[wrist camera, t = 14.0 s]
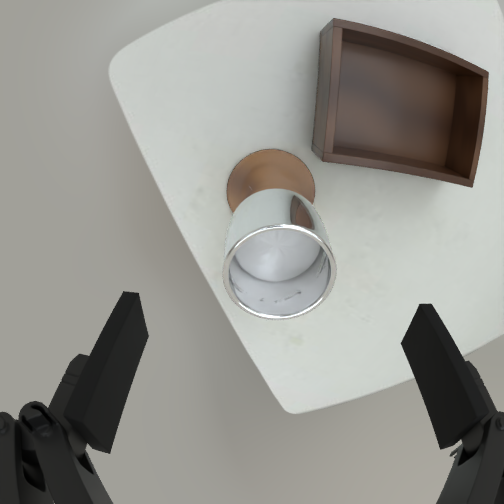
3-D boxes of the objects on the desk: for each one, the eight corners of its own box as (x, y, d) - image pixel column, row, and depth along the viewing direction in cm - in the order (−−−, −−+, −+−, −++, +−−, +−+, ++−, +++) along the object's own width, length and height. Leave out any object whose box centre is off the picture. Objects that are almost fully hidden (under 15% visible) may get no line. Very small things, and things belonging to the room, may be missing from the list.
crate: (320, 30, 22) (333, 17, 17) (459, 71, 22) (488, 72, 17) (311, 150, 28) (322, 161, 23) (446, 172, 28) (472, 187, 23)
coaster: (228, 146, 28) (227, 147, 28) (319, 153, 28) (319, 153, 28) (226, 229, 32) (226, 230, 32) (308, 233, 33) (309, 235, 32)
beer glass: (303, 157, 28) (342, 216, 15) (306, 221, 31) (337, 317, 18) (232, 163, 29) (208, 227, 15) (241, 227, 32) (228, 326, 19)
